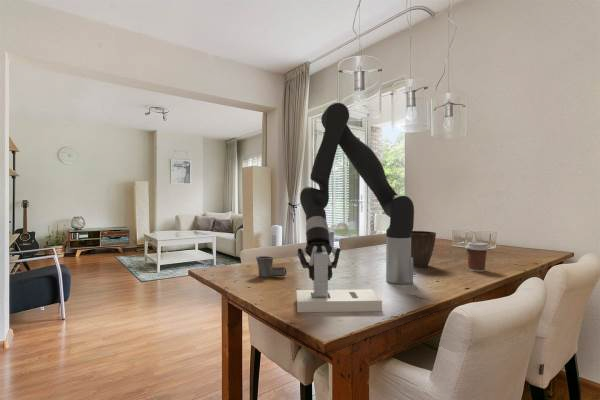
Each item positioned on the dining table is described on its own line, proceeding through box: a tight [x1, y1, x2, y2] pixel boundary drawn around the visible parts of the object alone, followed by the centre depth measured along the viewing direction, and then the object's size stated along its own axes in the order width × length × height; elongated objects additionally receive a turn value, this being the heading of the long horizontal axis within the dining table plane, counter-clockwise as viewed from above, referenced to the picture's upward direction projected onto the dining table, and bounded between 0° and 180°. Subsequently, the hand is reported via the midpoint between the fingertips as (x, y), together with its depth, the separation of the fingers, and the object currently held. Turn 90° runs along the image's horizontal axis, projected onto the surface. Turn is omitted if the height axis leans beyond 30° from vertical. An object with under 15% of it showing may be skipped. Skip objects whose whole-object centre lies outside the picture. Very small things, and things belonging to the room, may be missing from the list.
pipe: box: [255, 255, 287, 278], centre depth 128 cm, size 6×13×8 cm, turn 78°
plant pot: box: [411, 230, 437, 268], centre depth 150 cm, size 15×15×16 cm
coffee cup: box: [465, 241, 489, 273], centre depth 140 cm, size 9×9×12 cm
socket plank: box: [296, 288, 383, 313], centre depth 94 cm, size 24×11×3 cm, turn 92°
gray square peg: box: [312, 251, 329, 298], centre depth 94 cm, size 4×4×14 cm
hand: (321, 278), depth 92 cm, fingers open, 4 cm apart
